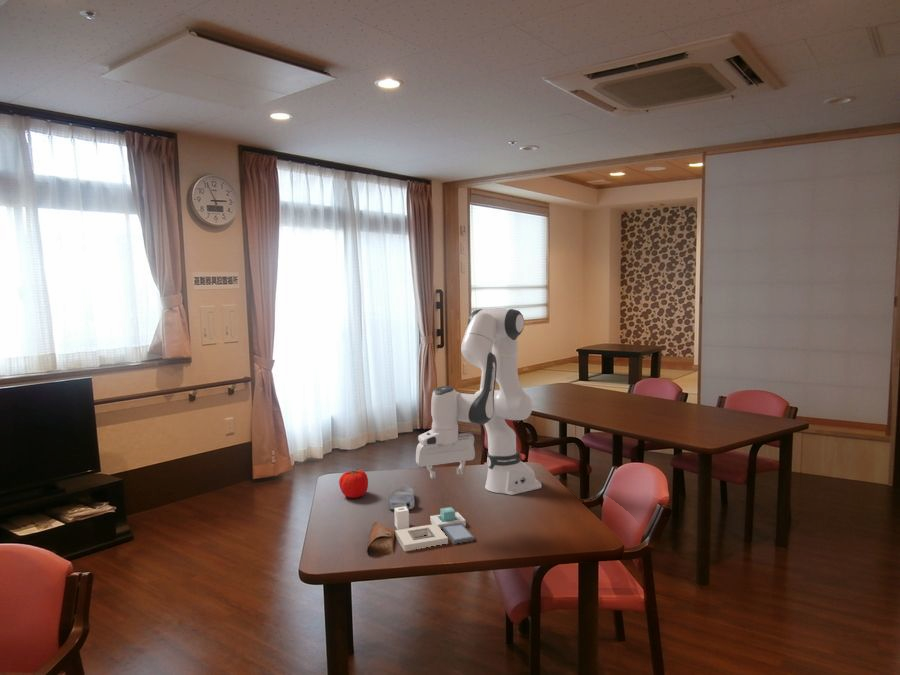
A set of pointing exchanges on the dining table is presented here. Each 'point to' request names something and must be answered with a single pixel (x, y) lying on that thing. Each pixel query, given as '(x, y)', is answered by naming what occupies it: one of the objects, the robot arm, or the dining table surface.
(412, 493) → the handheld device
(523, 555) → the dining table surface
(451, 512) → the teal small block
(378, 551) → the sunglasses case
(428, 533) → the outlet plate
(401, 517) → the charger
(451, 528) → the phone dock
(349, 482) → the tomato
